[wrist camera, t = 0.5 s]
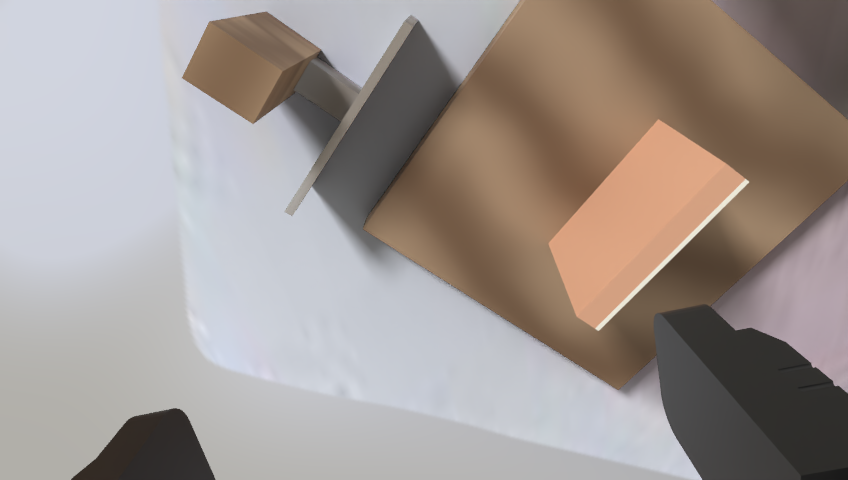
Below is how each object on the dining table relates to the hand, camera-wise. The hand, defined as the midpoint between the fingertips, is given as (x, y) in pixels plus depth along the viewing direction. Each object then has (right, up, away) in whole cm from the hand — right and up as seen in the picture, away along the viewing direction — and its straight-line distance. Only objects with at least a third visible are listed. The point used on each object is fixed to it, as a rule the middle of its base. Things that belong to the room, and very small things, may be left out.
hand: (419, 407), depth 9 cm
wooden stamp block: (-6, +11, +18) cm, 22 cm away
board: (+9, +6, +20) cm, 23 cm away
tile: (+9, +5, +19) cm, 21 cm away
